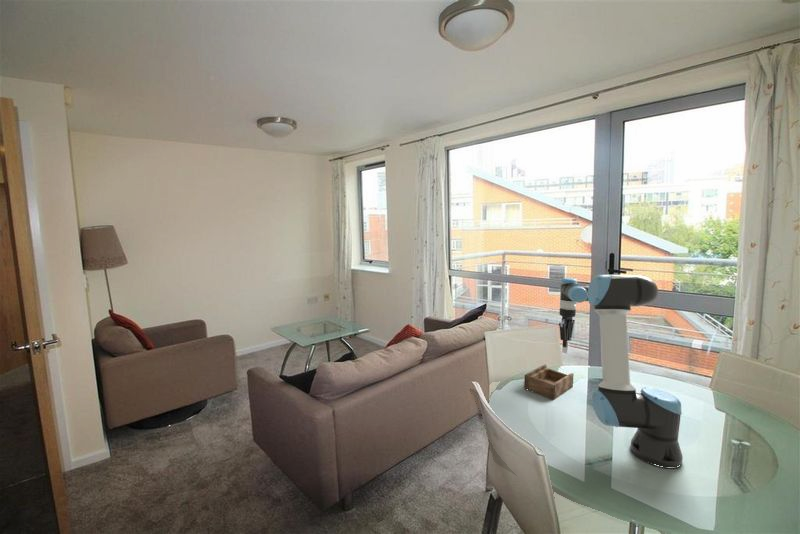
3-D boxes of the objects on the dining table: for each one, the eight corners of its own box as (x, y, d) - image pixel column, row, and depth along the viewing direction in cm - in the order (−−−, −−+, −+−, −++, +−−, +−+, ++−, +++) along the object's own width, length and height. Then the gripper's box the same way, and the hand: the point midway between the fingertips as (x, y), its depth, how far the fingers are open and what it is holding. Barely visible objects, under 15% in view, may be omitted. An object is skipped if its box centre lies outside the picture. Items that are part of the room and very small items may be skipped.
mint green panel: (570, 386, 182) (570, 379, 181) (546, 378, 191) (546, 372, 190) (583, 377, 193) (584, 370, 192) (560, 369, 202) (561, 363, 202)
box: (553, 400, 167) (554, 385, 166) (524, 388, 179) (524, 374, 178) (572, 387, 180) (573, 373, 179) (544, 377, 192) (544, 364, 191)
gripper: (569, 311, 178) (566, 357, 180) (580, 307, 186) (578, 351, 189) (554, 308, 183) (552, 353, 186) (566, 305, 192) (563, 347, 195)
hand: (565, 352), depth 187 cm, fingers closed
